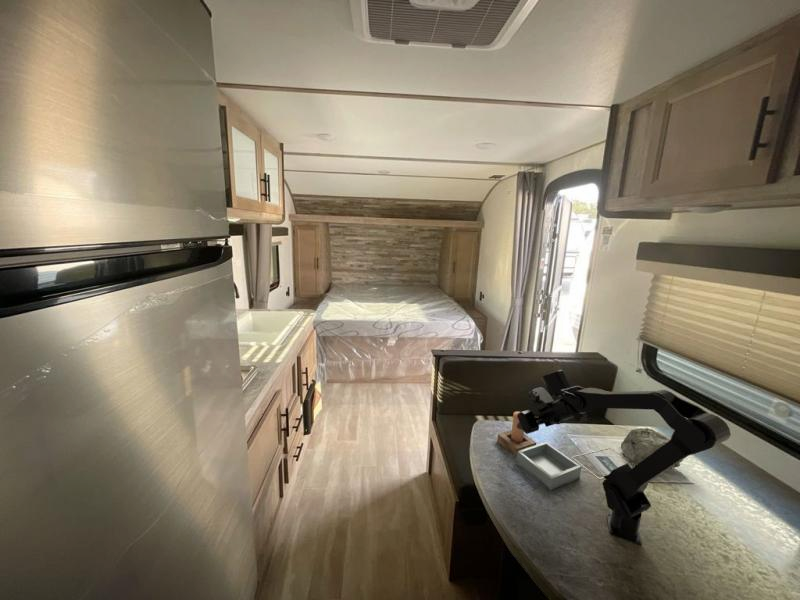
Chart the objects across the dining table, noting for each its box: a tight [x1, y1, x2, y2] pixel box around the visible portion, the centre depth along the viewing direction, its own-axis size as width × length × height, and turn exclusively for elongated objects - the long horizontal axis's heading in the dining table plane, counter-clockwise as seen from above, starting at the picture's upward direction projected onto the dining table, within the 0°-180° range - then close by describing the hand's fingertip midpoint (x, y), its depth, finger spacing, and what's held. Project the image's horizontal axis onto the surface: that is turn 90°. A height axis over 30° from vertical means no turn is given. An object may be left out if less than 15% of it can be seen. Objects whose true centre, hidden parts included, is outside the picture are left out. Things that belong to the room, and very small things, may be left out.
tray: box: [515, 441, 582, 491], centre depth 100 cm, size 13×13×4 cm
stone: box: [620, 427, 684, 470], centre depth 105 cm, size 10×12×15 cm
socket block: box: [497, 429, 537, 458], centre depth 112 cm, size 9×9×3 cm
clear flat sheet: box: [570, 447, 637, 480], centre depth 105 cm, size 11×1×18 cm
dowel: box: [511, 411, 525, 444], centre depth 111 cm, size 4×4×12 cm
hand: (527, 423), depth 107 cm, fingers open, 9 cm apart
